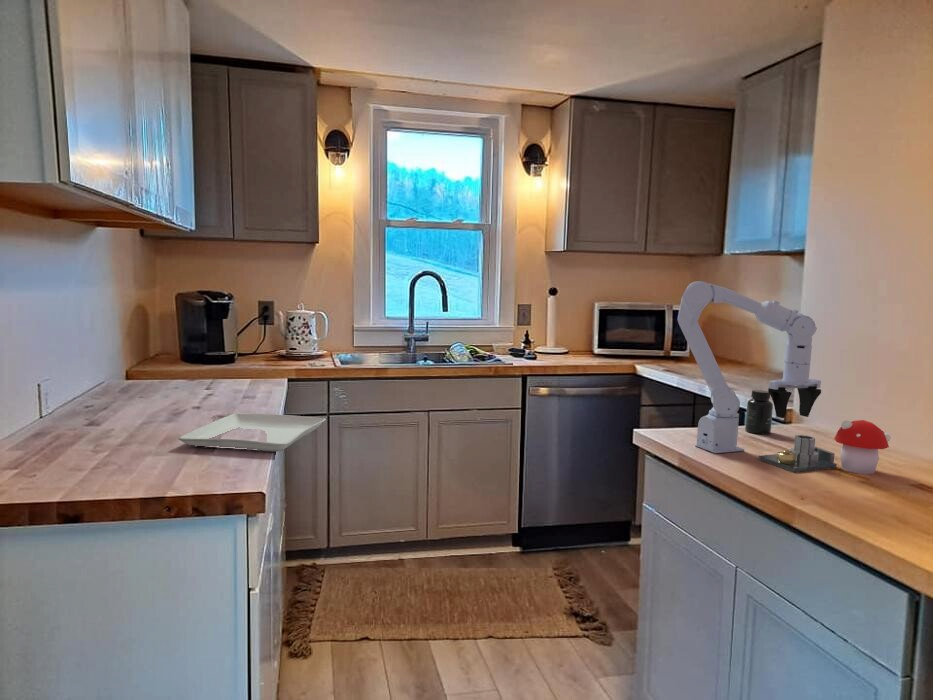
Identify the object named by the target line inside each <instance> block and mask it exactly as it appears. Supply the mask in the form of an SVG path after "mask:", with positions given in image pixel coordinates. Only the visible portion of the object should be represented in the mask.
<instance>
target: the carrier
mask: <svg viewBox="0 0 933 700" xmlns="http://www.w3.org/2000/svg"><path fill="white" fill-rule="evenodd" d="M814 451H816V452H818V462H817V463H802V462H799V461H798V462H796V461H795V454H793V453H790V450H783V451H778V452H777V453H773V454H763V455H759V456H758V461H761V462H763V461H764V462H763V463H766V462H767V464H770V465H773V466H774V467H777V466H778V468H780V467H781V469H783V468H784V469H783V470H786V471H788V470H789V472H792V473H802V472H812V471H813V472H814V471H822V470H831V469H837V463H835V454H836V453H834V452H832V451H829V450H827V449H825V448H821V447H817V446H815V448H814Z"/></svg>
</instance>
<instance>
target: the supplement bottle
mask: <svg viewBox="0 0 933 700" xmlns="http://www.w3.org/2000/svg"><path fill="white" fill-rule="evenodd" d="M750 396H751V398H750V399H749V400H748V401H747V403H746V411H745V412H746V414H745V415H746V416H745V426H744V427H745V428H744V429H745V431H746V432H748V433H750V432H751V434H755V433H756V435H757V434H758V435H770V434H771V432H772V421H773V409H774V403H773V401H771V400H770V399H771V395H770V394H769V392H768V390H761V389H753V390H751V395H750Z"/></svg>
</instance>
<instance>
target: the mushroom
mask: <svg viewBox="0 0 933 700" xmlns="http://www.w3.org/2000/svg"><path fill="white" fill-rule="evenodd" d="M840 426H841V427H839V429H838V430H837V432H836V434H835V436H834V438H833V440H834V441H835V442H836V443H838V444H841V445H842V446H841V449H840V460H841V461H840V463H841V469H843V470H844V471H847V472H849V473H854V474H859V475H873V473H874V474H875V472H876V470H877V466H878V463H879V460H880V456H879V450H885V449H888V448H890V445H889V441H890V440H892V438H891V435H890V434H889V433H888V432H885V431H884V430H882V429H881V428H880V427H878V426H877V425H876V424H875V423H873V422H871V421H867V420H864V419H858V420H853V421H851V420H844V421H842V422H841V424H840Z"/></svg>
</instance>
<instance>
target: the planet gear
mask: <svg viewBox="0 0 933 700" xmlns="http://www.w3.org/2000/svg"><path fill="white" fill-rule="evenodd" d="M815 447H816V437H814V436H810V435H805V434H795V435H794V444H793V448H789V451H790V453H793V454H795V461H796V462H798V461H799V462H802V463H817V462H818V452H816V451H814V448H815Z"/></svg>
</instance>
